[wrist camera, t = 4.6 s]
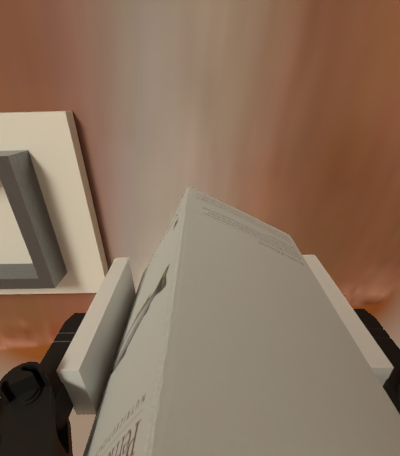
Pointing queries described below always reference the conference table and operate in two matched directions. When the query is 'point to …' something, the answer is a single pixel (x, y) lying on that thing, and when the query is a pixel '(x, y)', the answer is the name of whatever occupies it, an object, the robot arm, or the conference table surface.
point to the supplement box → (237, 353)
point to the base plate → (54, 199)
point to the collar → (29, 226)
